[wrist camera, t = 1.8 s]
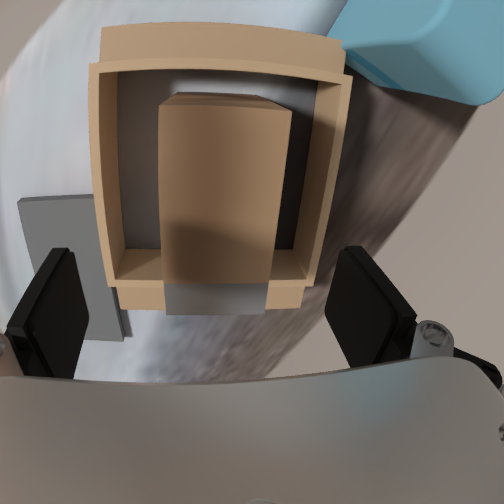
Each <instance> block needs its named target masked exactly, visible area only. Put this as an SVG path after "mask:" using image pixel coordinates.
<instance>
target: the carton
mask: <svg viewBox="0 0 504 504" xmlns="http://www.w3.org/2000/svg"><path fill="white" fill-rule="evenodd" d="M342 41H343V40H339V39H334V38H330V37H325V36H320V35H315V34H310V33H304V32H298V31H292V30H286V29H279V28H271V27H263V26H254V25H243V24H230V23H210V22H162V23H142V24H129V25H119V26H110V27H102V31H101V44H100V61H99V62H98V63H90V64H89V83H88V113H89V142H90V159H91V172H92V183H93V193H94V202H95V211H96V218H97V226H98V233H99V239H100V246H101V252H102V258H103V263H104V269H105V274H106V279H107V284H108V287H116V288H117V294H118V299H119V304H120V308H121V309H128V310H166V305H165V295H164V283H163V271H162V257H161V249H126V247H125V239H124V230H123V220H122V209H121V197H120V183H119V166H118V140H117V85H118V72H128V71H145V70H220V71H237V72H251V73H262V74H271V75H280V76H288V77H296V78H303V79H309V80H316V81H318V87H317V95H316V103H315V110H314V117H313V125H312V132H311V139H310V146H309V152H308V159H307V166H306V172H305V179H304V185H303V191H302V198H301V204H300V210H299V216H298V222H297V228H296V233H295V239H294V245H293V250H287V249H274V252H273V259H272V266H271V272H270V279H269V286H268V292H267V299H266V306H265V309H286V308H300V305H301V301H302V297H303V293H304V288H305V286H313V284H314V280H315V276H316V271H317V267H318V263H319V259H320V254H321V250H322V245H323V241H324V236H325V232H326V227H327V222H328V218H329V213H330V208H331V203H332V198H333V193H334V188H335V183H336V178H337V172H338V167H339V161H340V156H341V150H342V144H343V138H344V132H345V126H346V120H347V114H348V107H349V100H350V94H351V86H352V79H353V76H349V75H344V74H343V72H344V64H345V56H346V52H345V51H344V50H343V49H342V48H341V43H342Z"/></svg>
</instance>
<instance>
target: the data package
mask: <svg viewBox="0 0 504 504" xmlns="http://www.w3.org/2000/svg"><path fill="white" fill-rule="evenodd" d="M327 37H330V38H334V39H339V40H343V41H342V43H341V48H342V49H343V50H344V51H345V52H346V56H345V64H347V65H348V66H350V67H351V68H353V69H354V70H355V71H357V72H358V73H360V74H361V75H363V76H364V77H365V78H367V79H368V80H370V81H371V82H372V83H374V84H375V85H377V86H381V87H387V88H394V89H400V90H405V91H411V92H416V93H421V94H426V95H431V96H435V97H440V98H444V99H448V100H452V101H456V102H460V103H464V104H468V105H474V106H477V105H482V104H486V103H488V102H491V101H492V100H494V99H495V98H497V97H498V96H499V95H500V94H501V93H502V92H503V91H504V0H348V2H347V3H346V5H345V7H344V8H343V10H342V12H341V13H340V15H339V16H338V18H337V20H336V21H335V23H334V25H333V26H332V28H331V30H330V31H329V33H328V35H327Z"/></svg>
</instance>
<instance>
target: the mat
mask: <svg viewBox="0 0 504 504" xmlns="http://www.w3.org/2000/svg"><path fill="white" fill-rule="evenodd" d="M17 205H18V210H19V214H20V219H21V223H22V228H23V232H24V236H25V240H26V244H27V248H28V252H29V255H30V259H31V262H32V266H33V269H34V272H35V275H36V273H37V271H38V270H39V268H40V266H41V265H42V263H43V262H44V260H45V259H46V257H47V256H48V254H49V252H50V251H51V249H52V248H66V247H68V248H69V250H70V252H74V254H75V258H76V262H77V267H78V271H79V276H80V280H81V284H82V288H83V292H84V296H85V300H86V304H87V308H88V311H89V323H88V327H87V330H86V333H85V337H84V339H85V340H101V341H120V342H124V337H125V334H124V330H123V326H122V322H121V317H120V313H119V308H118V303H117V299H116V294H115V289H114V287H108V284H107V279H106V274H105V269H104V263H103V258H102V252H101V246H100V239H99V233H98V226H97V218H96V211H95V202H94V194H88V195H64V196H45V197H29V198H21V199H20V200H19V201H18V202H17Z"/></svg>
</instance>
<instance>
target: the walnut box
mask: <svg viewBox="0 0 504 504" xmlns="http://www.w3.org/2000/svg"><path fill="white" fill-rule="evenodd" d="M291 117H292V111H290V110H288V109H286V108H284V107H282V106H279V105H277V104H275V103H273V102H271V101H269V100H266V99H264V98H262V97H260V96H257V95H248V94H233V93H211V92H177V93H176V94H174V95H173V96H171V97H170V98H169V99H167V100H166V101H164V102H163V103H161V104H160V105H159V112H158V193H159V221H160V241H161V257H162V271H163V283H164V295H165V305H166V315H248V314H264V312H265V306H266V299H267V292H268V286H269V279H270V272H271V266H272V259H273V252H274V245H275V238H276V231H277V224H278V216H279V209H280V202H281V195H282V187H283V180H284V172H285V164H286V157H287V149H288V141H289V133H290V125H291Z"/></svg>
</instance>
